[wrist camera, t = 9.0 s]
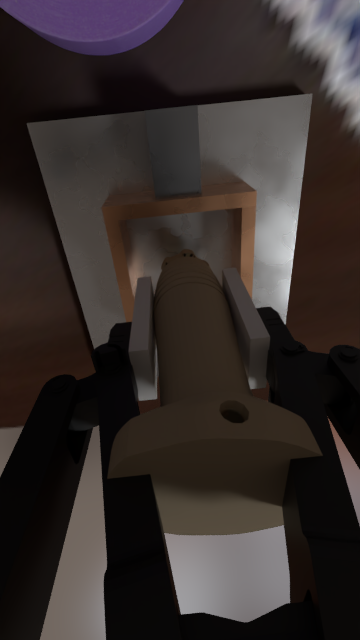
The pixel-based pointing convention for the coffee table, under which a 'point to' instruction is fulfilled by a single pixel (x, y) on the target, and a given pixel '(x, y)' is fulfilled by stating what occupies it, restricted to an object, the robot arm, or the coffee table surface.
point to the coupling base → (176, 197)
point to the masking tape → (93, 22)
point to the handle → (208, 418)
